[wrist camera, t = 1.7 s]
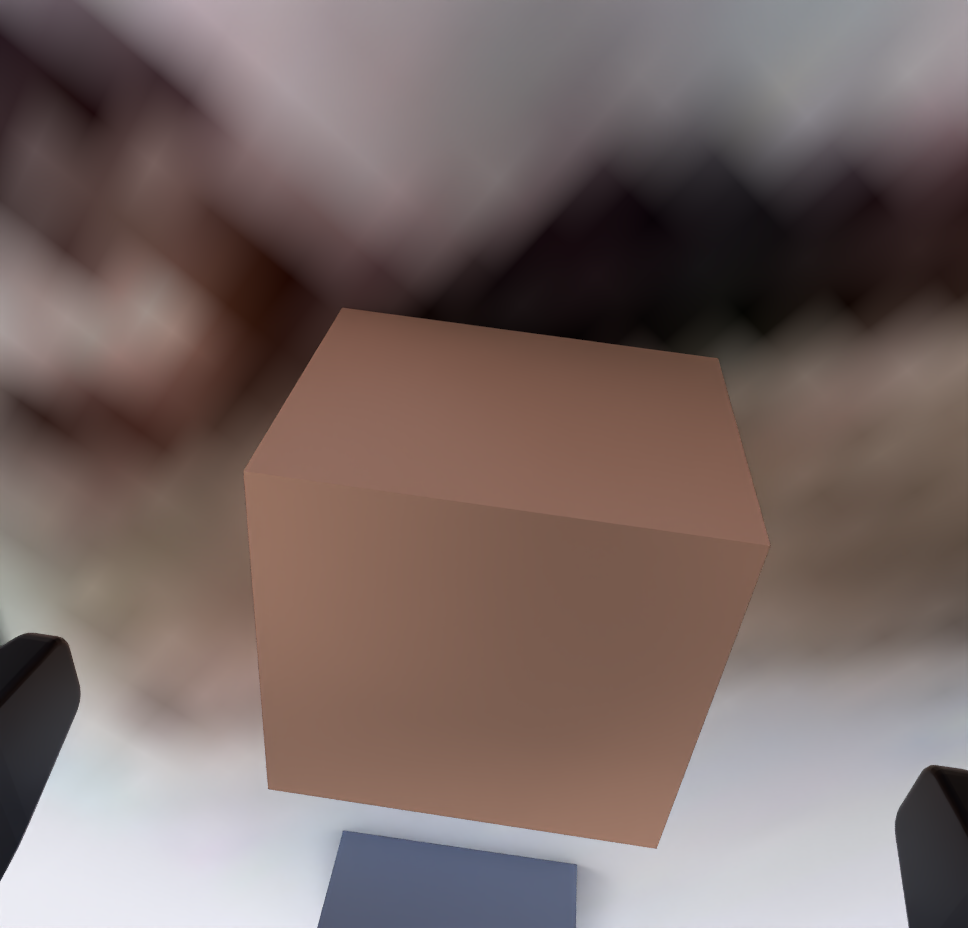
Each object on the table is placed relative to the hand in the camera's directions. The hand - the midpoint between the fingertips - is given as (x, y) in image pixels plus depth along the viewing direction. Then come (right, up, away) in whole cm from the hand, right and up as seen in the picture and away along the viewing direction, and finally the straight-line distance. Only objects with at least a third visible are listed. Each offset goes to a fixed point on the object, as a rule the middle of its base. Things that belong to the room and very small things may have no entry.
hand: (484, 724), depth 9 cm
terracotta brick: (0, +2, +4) cm, 5 cm away
